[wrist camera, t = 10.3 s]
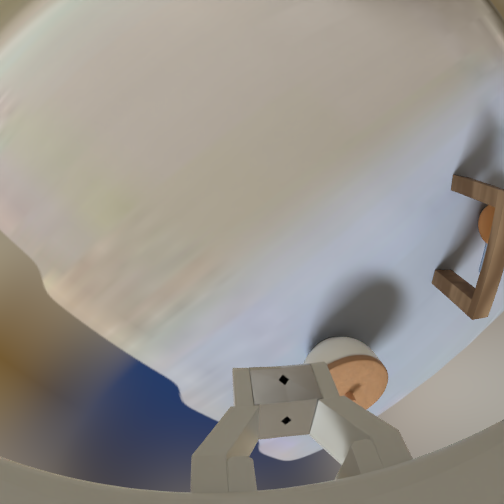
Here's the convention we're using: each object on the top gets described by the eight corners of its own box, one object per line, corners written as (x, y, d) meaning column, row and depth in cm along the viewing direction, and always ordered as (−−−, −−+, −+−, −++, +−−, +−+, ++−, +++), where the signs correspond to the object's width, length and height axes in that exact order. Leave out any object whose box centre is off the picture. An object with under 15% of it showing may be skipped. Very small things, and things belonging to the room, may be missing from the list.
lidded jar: (369, 315, 40) (400, 359, 31) (363, 373, 44) (386, 417, 35) (290, 330, 40) (307, 381, 31) (294, 388, 44) (307, 437, 35)
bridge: (431, 283, 39) (472, 319, 30) (453, 174, 34) (505, 192, 25) (447, 282, 39) (487, 316, 30) (468, 177, 34) (520, 195, 25)
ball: (478, 192, 35) (493, 209, 30) (510, 201, 34) (528, 217, 29) (468, 231, 38) (480, 252, 33) (500, 238, 37) (514, 258, 32)
